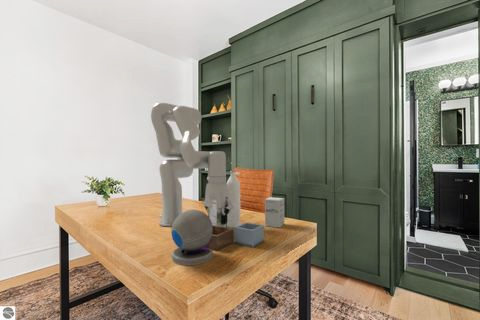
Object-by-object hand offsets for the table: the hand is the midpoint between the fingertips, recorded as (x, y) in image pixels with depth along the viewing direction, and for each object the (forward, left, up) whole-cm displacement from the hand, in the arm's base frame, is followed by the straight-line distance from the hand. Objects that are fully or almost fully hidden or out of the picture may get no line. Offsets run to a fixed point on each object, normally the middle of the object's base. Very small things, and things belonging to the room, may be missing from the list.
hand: (217, 222), depth 99 cm
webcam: (+8, -23, -5) cm, 25 cm away
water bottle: (-1, +14, -5) cm, 15 cm away
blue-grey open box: (+17, -2, -5) cm, 18 cm away
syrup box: (0, 0, -5) cm, 5 cm away
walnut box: (+7, -10, -5) cm, 13 cm away
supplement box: (+15, +24, -5) cm, 29 cm away
